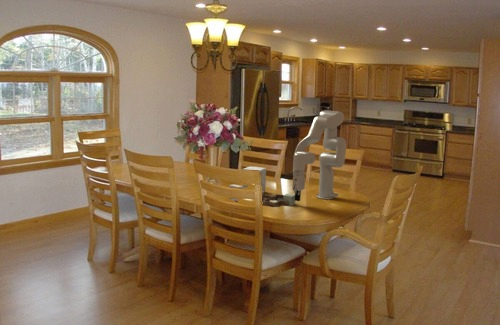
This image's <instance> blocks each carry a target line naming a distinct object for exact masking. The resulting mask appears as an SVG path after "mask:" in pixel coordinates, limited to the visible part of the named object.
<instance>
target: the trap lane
mask: <svg viewBox="0 0 500 325" xmlns="http://www.w3.org/2000/svg"><path fill="white" fill-rule="evenodd" d="M264 193H265V192H264V191H262V202H263V205H262V206H268V207H274V208H276V207H278V206H286V205H287V206H289V205H288V201H283V195H284V194H278V193H277V194H274V195H267V194H264ZM273 201H275V202H273ZM262 202H261V203H262Z"/></svg>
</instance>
